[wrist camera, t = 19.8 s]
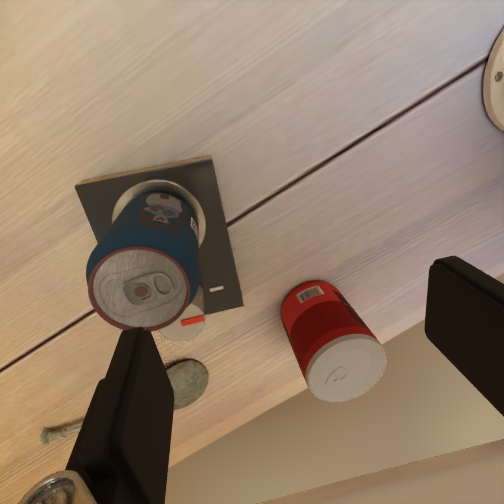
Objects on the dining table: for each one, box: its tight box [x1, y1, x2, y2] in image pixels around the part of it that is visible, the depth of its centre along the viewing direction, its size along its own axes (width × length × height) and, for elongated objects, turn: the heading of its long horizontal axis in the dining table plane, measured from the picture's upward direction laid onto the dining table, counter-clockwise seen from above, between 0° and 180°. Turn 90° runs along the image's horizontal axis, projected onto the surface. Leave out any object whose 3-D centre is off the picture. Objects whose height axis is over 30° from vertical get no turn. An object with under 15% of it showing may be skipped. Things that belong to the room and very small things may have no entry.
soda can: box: [86, 192, 200, 332], centre depth 24 cm, size 7×7×12 cm
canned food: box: [281, 281, 387, 402], centre depth 34 cm, size 8×8×11 cm
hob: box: [75, 155, 244, 315], centre depth 32 cm, size 17×12×3 cm
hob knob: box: [159, 285, 205, 341], centre depth 31 cm, size 4×4×5 cm
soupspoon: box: [40, 360, 208, 445], centre depth 40 cm, size 22×3×7 cm
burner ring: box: [112, 180, 206, 247], centre depth 30 cm, size 8×8×1 cm
